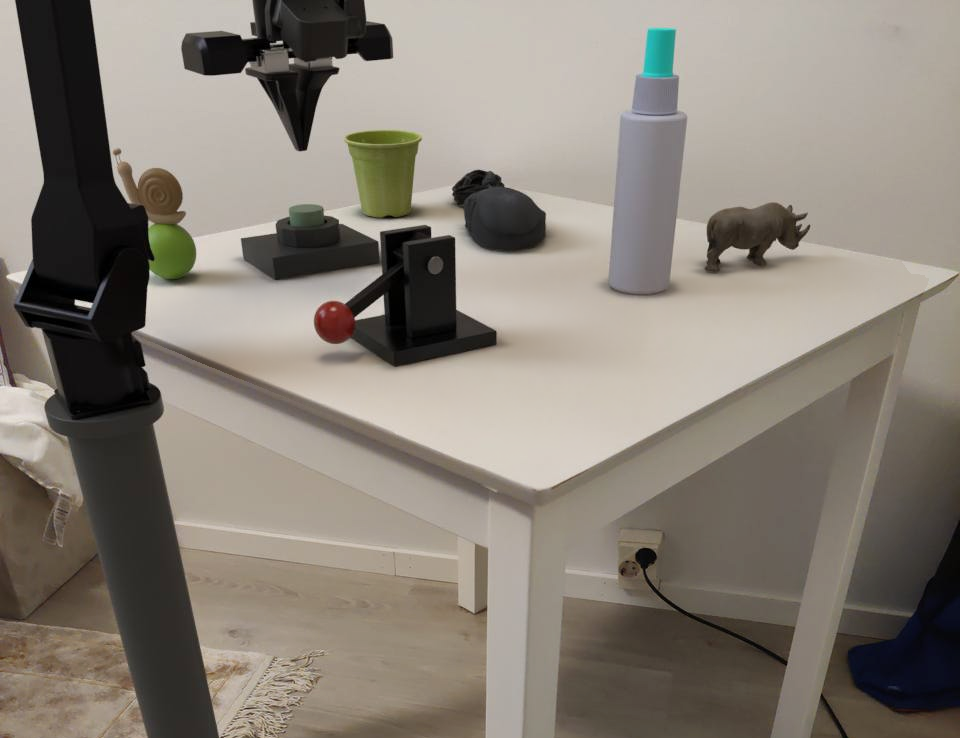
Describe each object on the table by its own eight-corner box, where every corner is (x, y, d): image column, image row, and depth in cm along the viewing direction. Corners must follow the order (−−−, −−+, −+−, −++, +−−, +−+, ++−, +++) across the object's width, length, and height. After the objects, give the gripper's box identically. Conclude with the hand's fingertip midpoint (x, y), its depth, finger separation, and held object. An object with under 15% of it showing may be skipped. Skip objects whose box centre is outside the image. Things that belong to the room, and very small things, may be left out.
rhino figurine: (818, 260, 106) (830, 200, 103) (712, 275, 102) (720, 213, 98) (794, 251, 109) (804, 192, 106) (690, 265, 105) (697, 205, 101)
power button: (298, 231, 102) (297, 213, 101) (285, 224, 105) (283, 206, 104) (330, 226, 104) (328, 209, 103) (316, 219, 106) (314, 202, 105)
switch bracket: (394, 366, 81) (388, 255, 76) (347, 335, 87) (338, 230, 82) (496, 344, 85) (497, 237, 80) (444, 315, 91) (442, 215, 86)
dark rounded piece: (474, 255, 108) (474, 202, 105) (442, 191, 134) (441, 146, 130) (559, 252, 109) (561, 199, 106) (510, 188, 135) (511, 144, 131)
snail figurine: (149, 269, 104) (125, 143, 97) (208, 271, 103) (187, 145, 96) (128, 284, 99) (100, 154, 92) (188, 287, 99) (166, 155, 92)
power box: (275, 280, 101) (270, 239, 98) (243, 259, 107) (237, 220, 104) (379, 262, 106) (377, 223, 103) (343, 243, 112) (340, 206, 110)
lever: (337, 357, 81) (316, 324, 78) (320, 345, 83) (299, 312, 81) (449, 269, 82) (432, 233, 80) (429, 259, 85) (412, 224, 82)
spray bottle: (626, 274, 102) (646, 25, 89) (679, 284, 99) (708, 28, 86) (597, 288, 98) (614, 29, 85) (651, 299, 95) (677, 33, 82)
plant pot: (438, 210, 125) (436, 134, 120) (394, 225, 119) (390, 146, 113) (379, 201, 129) (375, 127, 124) (334, 215, 123) (327, 138, 117)
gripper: (210, -38, 76) (242, 179, 86) (418, -47, 84) (426, 152, 94) (163, -43, 84) (197, 157, 93) (358, -51, 92) (371, 134, 101)
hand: (301, 150), depth 95 cm, fingers closed
